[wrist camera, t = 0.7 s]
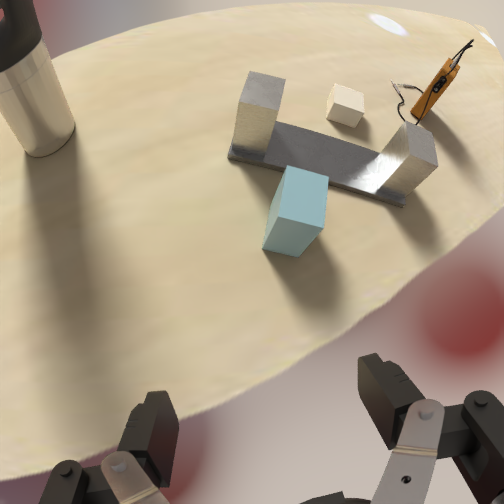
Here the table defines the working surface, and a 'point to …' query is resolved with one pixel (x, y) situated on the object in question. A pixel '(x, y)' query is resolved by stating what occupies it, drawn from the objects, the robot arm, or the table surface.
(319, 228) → the block
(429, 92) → the multimeter
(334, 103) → the block
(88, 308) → the table surface
